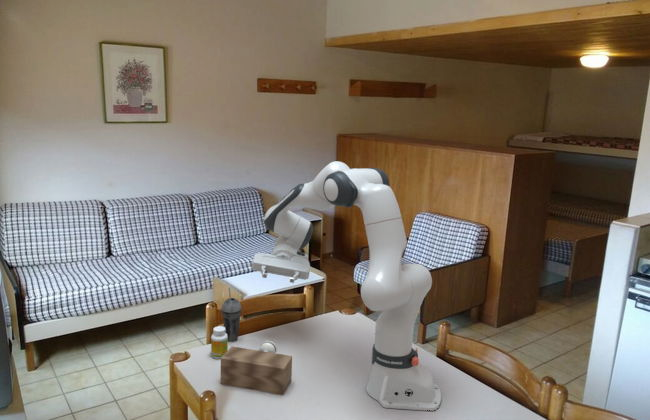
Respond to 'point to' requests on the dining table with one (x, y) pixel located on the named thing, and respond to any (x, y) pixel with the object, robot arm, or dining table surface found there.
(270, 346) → the knob
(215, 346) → the supplement bottle
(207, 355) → the dining table surface
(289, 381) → the block
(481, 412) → the dining table surface
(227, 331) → the beverage cup
